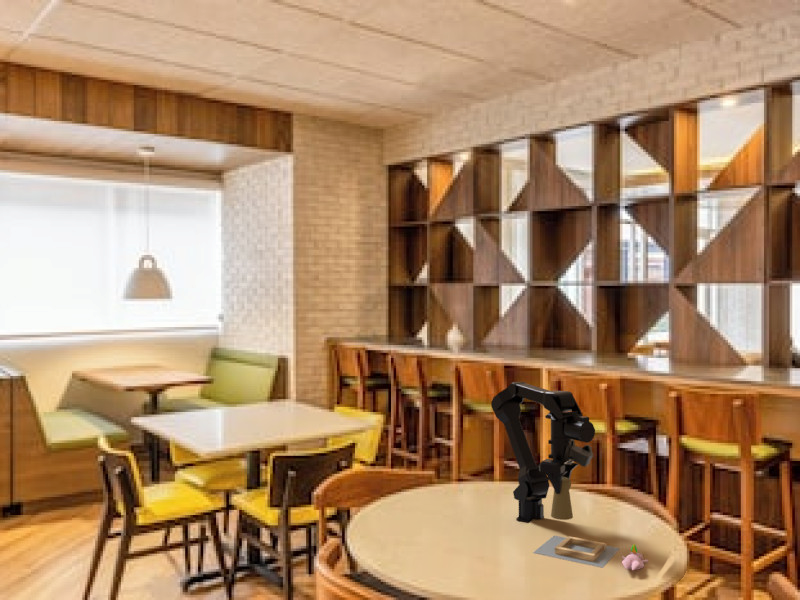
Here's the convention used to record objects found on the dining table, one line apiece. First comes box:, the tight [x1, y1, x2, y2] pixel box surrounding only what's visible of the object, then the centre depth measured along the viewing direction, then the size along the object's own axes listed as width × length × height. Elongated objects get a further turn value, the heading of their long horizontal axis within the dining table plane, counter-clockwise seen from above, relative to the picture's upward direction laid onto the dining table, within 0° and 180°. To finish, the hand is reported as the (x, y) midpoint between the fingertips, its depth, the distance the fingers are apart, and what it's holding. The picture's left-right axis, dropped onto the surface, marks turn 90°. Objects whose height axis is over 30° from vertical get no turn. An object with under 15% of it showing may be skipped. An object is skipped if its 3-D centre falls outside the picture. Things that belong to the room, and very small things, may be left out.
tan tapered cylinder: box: [550, 477, 574, 521], centre depth 193 cm, size 6×6×11 cm
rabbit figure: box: [621, 543, 649, 571], centre depth 167 cm, size 6×6×15 cm
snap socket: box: [555, 535, 607, 562], centre depth 176 cm, size 10×10×2 cm
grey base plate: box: [532, 535, 621, 568], centre depth 177 cm, size 18×15×1 cm
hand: (561, 491), depth 193 cm, fingers closed on tan tapered cylinder, 5 cm apart
